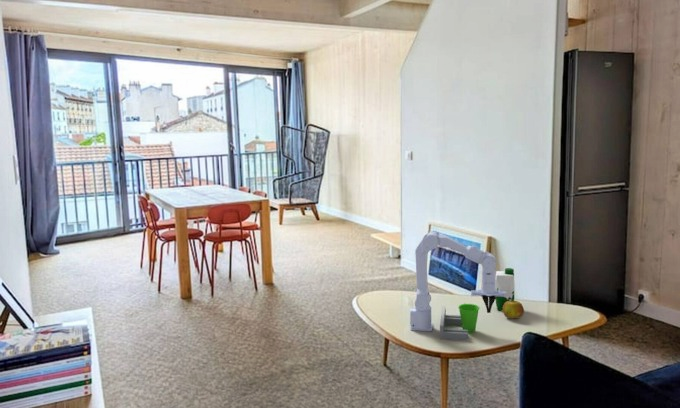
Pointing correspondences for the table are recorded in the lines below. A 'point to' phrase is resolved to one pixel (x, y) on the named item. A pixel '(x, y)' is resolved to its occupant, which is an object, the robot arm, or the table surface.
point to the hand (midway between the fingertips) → (488, 312)
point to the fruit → (513, 309)
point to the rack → (452, 333)
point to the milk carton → (504, 287)
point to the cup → (469, 316)
